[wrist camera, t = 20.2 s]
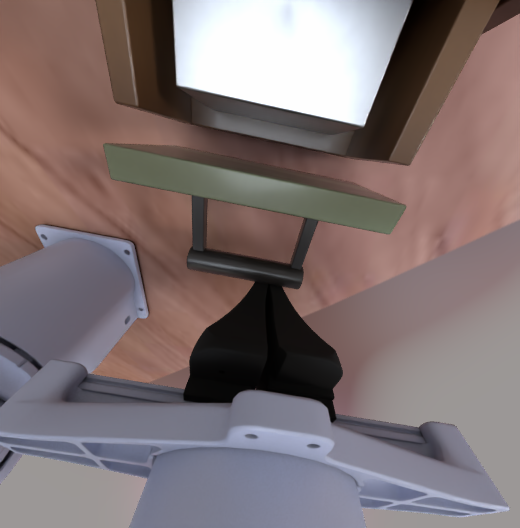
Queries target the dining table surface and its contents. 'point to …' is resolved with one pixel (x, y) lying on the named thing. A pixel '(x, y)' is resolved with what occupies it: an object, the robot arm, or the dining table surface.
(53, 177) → the dining table surface
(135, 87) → the drawer
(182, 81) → the silver metal block
